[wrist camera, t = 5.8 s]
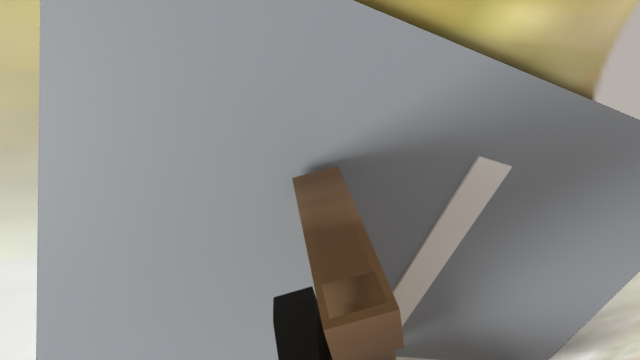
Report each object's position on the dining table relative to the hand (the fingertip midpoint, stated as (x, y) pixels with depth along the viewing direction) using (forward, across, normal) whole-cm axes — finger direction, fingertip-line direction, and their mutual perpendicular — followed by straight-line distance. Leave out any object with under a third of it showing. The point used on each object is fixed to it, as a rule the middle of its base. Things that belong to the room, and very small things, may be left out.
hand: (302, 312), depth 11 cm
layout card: (+3, -3, +4) cm, 6 cm away
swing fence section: (+2, -1, +2) cm, 3 cm away
